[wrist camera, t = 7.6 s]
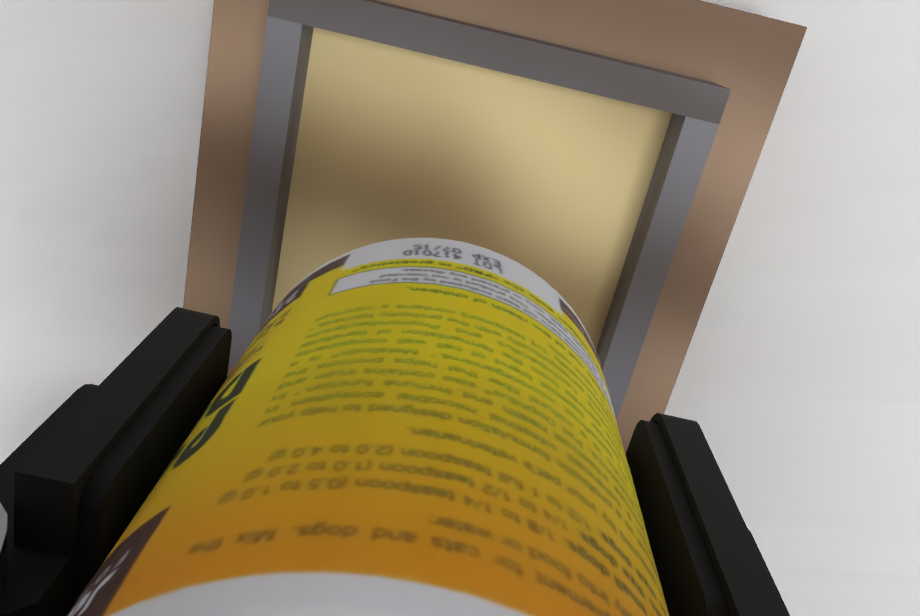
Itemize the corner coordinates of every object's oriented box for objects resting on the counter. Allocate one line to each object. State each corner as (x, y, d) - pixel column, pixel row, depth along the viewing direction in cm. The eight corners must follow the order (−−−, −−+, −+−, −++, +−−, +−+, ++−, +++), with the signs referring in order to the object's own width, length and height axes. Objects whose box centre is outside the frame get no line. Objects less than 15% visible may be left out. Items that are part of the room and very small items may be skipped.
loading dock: (616, 449, 27) (638, 534, 23) (207, 360, 26) (153, 430, 22) (766, 22, 22) (831, 30, 17) (261, -103, 21) (204, -126, 17)
